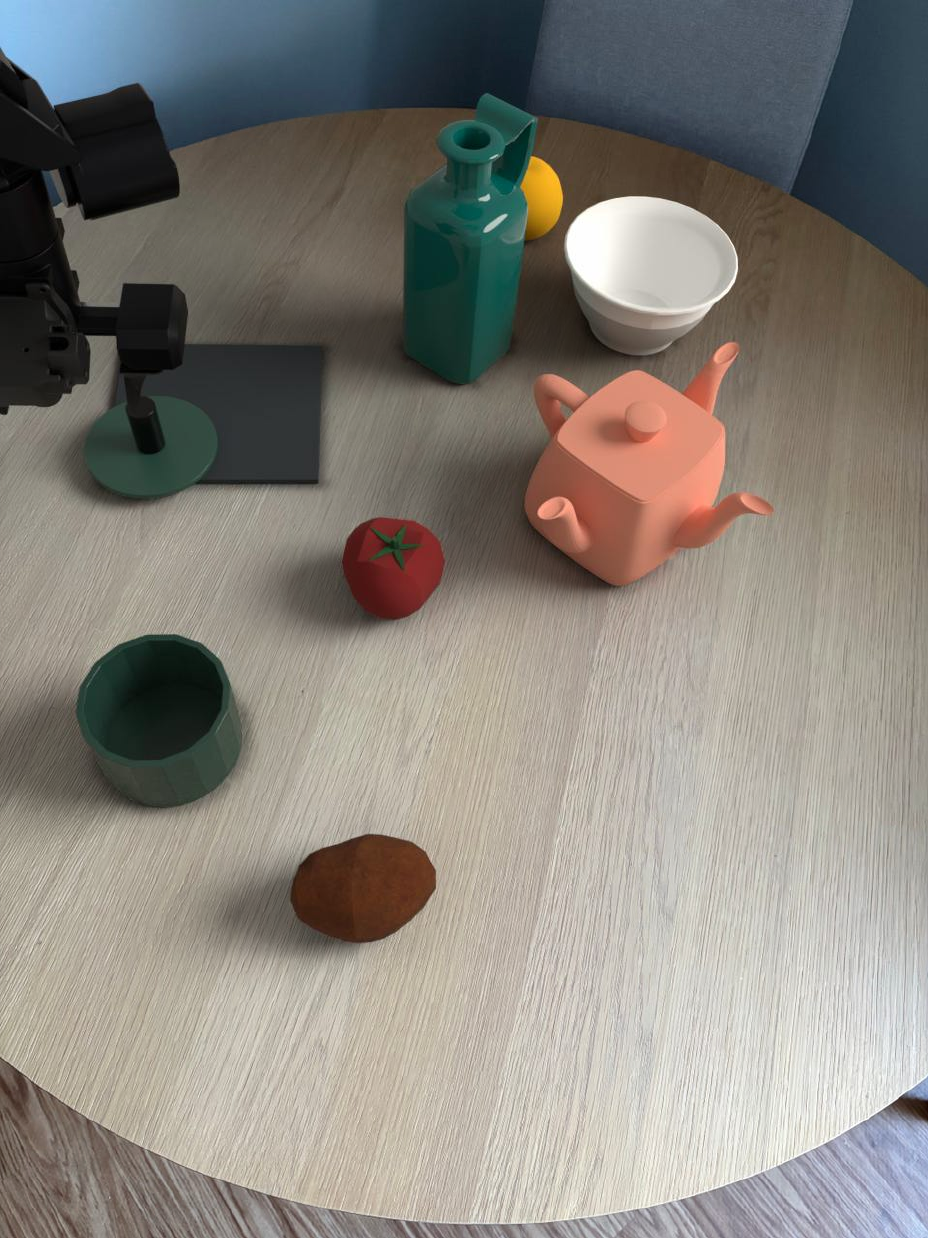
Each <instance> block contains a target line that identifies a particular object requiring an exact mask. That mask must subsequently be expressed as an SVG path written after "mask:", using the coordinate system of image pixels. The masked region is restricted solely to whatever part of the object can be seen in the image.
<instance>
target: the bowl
mask: <svg viewBox="0 0 928 1238" xmlns="http://www.w3.org/2000/svg"><path fill="white" fill-rule="evenodd" d="M563 252H564V257H565V258H564V259H565V261H566V263H567V266H568V267H569V270H570V272H571V278H572V285H573V286H572V287H573V292H574V295H575V298H576V300H577V302H578V305H579V307H580V309H581V311H582V314H583V315H584V317H585V318H586V320H587V321H588V323H589V328H590V330H591V332H592V334H593V335H594V337H595V338H596V339H597V340H598V341H599V342H601V344H603V345H604V346H606V347H608V348H609V349H611V350H614V351H615V352H618V353H621V354H625V355H631V356H649V355H653V354H657V353H660V352H662V351H663V350H665V349H666V348H668V347H669V346H670V345H671V344H673V342H674V341H676V340H678V339H680V338H681V337H683V336H685V335H686V334H687V333H689V332H690V331H691V330H692V329H694V328H696V326H697V325H698V324H700V322H702V321H703V319H704V318H705V317H706V315H707V314H708V312H709V311H710V310H711V309H712V307H713V305H714V304H715V303H717V302H719V301H720V300H722V298H723V297H725V295H727V294H728V293H729V292H730V290H731V289H732V287H733V286H734V284H735V282H736V279H737V275H738V272H739V263H738V262H739V260H738V259H739V258H738V254H737V251H736V247H735V245H734V244H733V243H732V241H731V239H730V237H729V235H728V234H727V233H726V232H725V231H724V230H723V229H722V228H721V227H720V226H719V224H717V223H716V222H714V220H712V219H711V218H710V217H708V216H707V215H705V214H703V213H701V212H699V211H698V210H696V209H695V208H692V207H690V206H687V205H685V204H682V203H679V202H677V201H672V200H669V199H665V198H661V197H653V196H647V195H646V196H642V195H641V196H637V195H633V196H631V195H629V196H622V197H614V198H611V199H607V200H604V201H600V202H597V203H596V204H593V205H592V206H589V207H587V208H586V209H585V210H583V211H582V212H581V213H579V214H578V215H577V216H576V217H575V218H574V220H573V221H572V222H571V223H570V225H569V227H568V229H567V232H566V233H565V236H564V242H563Z"/></svg>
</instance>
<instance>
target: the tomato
mask: <svg viewBox="0 0 928 1238" xmlns="http://www.w3.org/2000/svg"><path fill="white" fill-rule="evenodd" d="M340 564H341V568H342V573H343V576H344V579H345V581H346V582H347V583H346V584H347V586H348V589H349V591H350V593H351V595H352V598H353V600H354V601H355V602H356V603H357V604H358V605H359V606H360V607H361V609H362V610H363V611H364V612H366V613H369V614H370V615H372V616H374V617H376V618H378V619H381V620H391V621H397V620H401V619H404V618H407V617H409V616H411V615H413V614H414V613H416V612H417V611H419V610H420V609H421V608H422V607H423V606H424V604H425V603H426V602H427V601H428V599H429V598H430V597H431V596H432V594H433V593H434V592H435V590H436V589H437V587H438V586H439V585H440V584H441V580H442V578H443V575H444V570H445V564H446V559H445V554H444V551H443V547H442V543H441V541H440V539H439V538H438V537H437V536H436V535H435V534H434V533H433V532H432V531H431V530H430V529H429V528H428V527H427V526H425V525H423V524H422V523H419V522H417V521H416V520H411V519H404V518H403V519H402V518H394V517H385V516H378V517H374V518H370V519H368V520H366V521H364V522H361V523H359V525H357V526H356V527H355V528H354V529H353V530H352V532H351V533H350V534H349V535H348V537H347V538H346V540H345V544H344V549H343V553H342V558H341V561H340Z"/></svg>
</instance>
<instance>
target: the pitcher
mask: <svg viewBox="0 0 928 1238" xmlns="http://www.w3.org/2000/svg"><path fill="white" fill-rule="evenodd" d="M538 119H539V117H537V116H534V115H533V114H531V113H529V112H526V111H525V110H522V109H521V108H518V107H516V106H515V105H513V104H511V103H509V102H507V101H504V100H502V99H500V98H499V97H496V96H494V95H492V94H490V93H488V92H486V93H484V94H482V95H481V96H480V98H479V101H478V102H477V105H476V109H475V116H474V119H461V120H457V121H453V122H450V123H448V124H447V125H445V126H444V127H442V128H441V129H440V130H439V132H438V134H437V137H436V144H437V148H438V150H439V151H440V152H441V154H442V155H443V156H444V157H445V158H446V163H445V164H444V165H442V166H441V167H440V168H439V169H437V170H436V171H434V172H433V173H432V174H430V176H428V177H427V178H426V179H424V180H423V181H422V182H419V184H417V185H416V186H415V187H414V188H412V189H411V190H410V191H409V194H408V196H407V198H406V200H405V203H404V209H403V268H402V269H403V271H402V272H403V275H402V278H403V279H402V280H403V281H402V282H403V283H402V347H403V348H402V349H403V351H404V352H405V354H406V355H407V356H408V357H409V358H411V359H412V360H414V361H415V362H418V363H419V364H421V365H423V366H424V367H425V368H427V369H428V370H430V371H432V372H434V373H435V374H437V375H439V376H441V377H442V378H444V379H445V380H447V381H449V382H450V383H455V384H459V385H461V384H471V383H473V382H476V381H477V380H478V379H479V378H481V376H482V375H484V374H485V372H487V371H488V370H489V369H490V368H491V367H493V365H494V364H495V363H497V362H498V360H499V359H501V358H502V357H503V356H504V355H505V354H506V353H507V352H508V351H509V350H510V347H511V344H512V338H513V331H514V330H513V329H514V323H515V315H516V308H517V301H518V300H517V299H518V292H519V286H520V285H519V284H520V277H521V270H522V269H521V268H522V264H523V263H522V261H523V255H524V246H525V241H526V240H525V232H526V225H527V217H528V204H527V200H526V196H525V193H524V192H523V191H522V189H521V188H520V186H521V184H522V182H523V179H524V177H525V174H526V172H527V169H528V166H529V162H530V158H531V156H532V153H533V150H534V149H533V148H534V143H535V138H536V132H537V127H538V123H539V122H538V121H539V120H538Z"/></svg>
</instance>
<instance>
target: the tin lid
mask: <svg viewBox="0 0 928 1238" xmlns="http://www.w3.org/2000/svg"><path fill="white" fill-rule="evenodd" d="M83 445H84V446H83V457H84V461H85V465H86V467H87V469H88V472H89V473H90V475H91V476H92V478H93V479H94V480H95V481H96V483H99V485H101V486H102V487H103V488H105V489H106V490H108V491H110V492H111V493H115V494H117V495H119V496H123V497H126V498H132V499H144V500H146V499H149V500H150V499H158V498H165V497H168V496H173V495H175V494H178V493H180V492H183V491H184V490H186V489H188V488H190V487H191V486H193V485H195V484H194V483H196V482H197V481H198V480H199V479H201V478H202V477H203V476H204V475H205V474H206V473H207V471H208V470H209V469H210V467H211V466H212V464H213V462H214V460H215V457H216V454H217V449H218V439H217V433H216V430H215V427H214V425H213V423H212V421H211V420H210V418H209V417H208V416H207V415H206V414H205V413H204V412H203V411H202V410H201V409H199V408H198V407H196V406H195V405H193V404H191V403H189V402H186V401H184V400H181V399H177V398H173V397H166V396H149V397H146V396H140V400H139V406H138V411H137V416H131V415H130V412H129V409H128V407H127V402H124V403H122V404H119V405H117V406H115V407H114V406H113V407H112V408H110V409H109V410H107V411H106V412H104V413H103V414H101V416H100V417H98V419H97V420H96V421H95V422H94V423H93V425H92V426H91V428H90V429H89V430H88V433H87V435H86V438H85V441H84V444H83Z"/></svg>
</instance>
